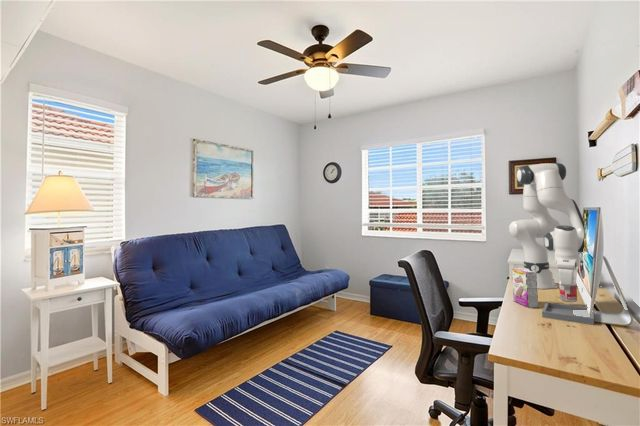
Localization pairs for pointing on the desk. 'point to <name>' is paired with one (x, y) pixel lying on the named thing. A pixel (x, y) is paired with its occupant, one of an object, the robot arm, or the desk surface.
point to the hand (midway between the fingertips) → (568, 291)
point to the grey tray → (566, 313)
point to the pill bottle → (568, 297)
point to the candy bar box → (525, 287)
